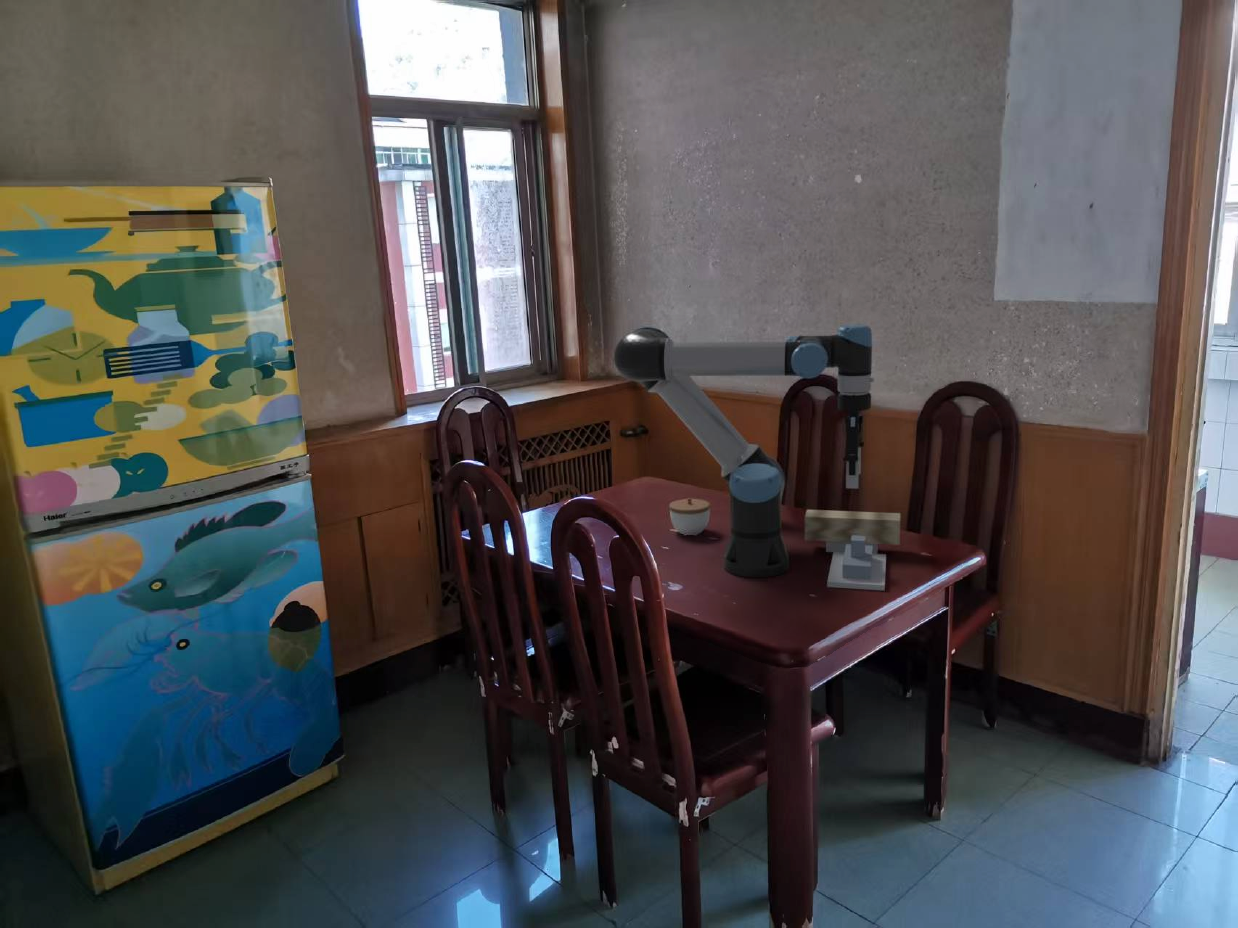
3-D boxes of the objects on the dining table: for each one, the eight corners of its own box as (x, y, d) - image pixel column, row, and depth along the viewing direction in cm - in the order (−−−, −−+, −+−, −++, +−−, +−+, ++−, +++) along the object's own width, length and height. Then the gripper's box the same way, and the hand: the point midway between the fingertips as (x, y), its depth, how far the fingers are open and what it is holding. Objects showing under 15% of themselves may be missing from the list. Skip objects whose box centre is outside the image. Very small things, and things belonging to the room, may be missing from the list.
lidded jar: (709, 538, 228) (708, 504, 225) (668, 538, 229) (667, 504, 227) (711, 526, 238) (710, 492, 236) (672, 526, 240) (671, 492, 237)
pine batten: (804, 540, 213) (804, 516, 212) (807, 532, 219) (807, 509, 218) (899, 544, 207) (900, 520, 206) (899, 537, 212) (900, 513, 211)
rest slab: (826, 551, 214) (826, 540, 213) (827, 546, 217) (827, 534, 217) (877, 554, 210) (877, 542, 209) (877, 549, 214) (878, 537, 213)
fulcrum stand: (827, 586, 192) (827, 551, 190) (833, 556, 210) (833, 523, 208) (884, 590, 188) (885, 554, 186) (885, 559, 207) (886, 525, 205)
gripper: (869, 401, 192) (868, 495, 197) (872, 384, 215) (871, 468, 220) (834, 401, 194) (833, 494, 199) (841, 384, 217) (840, 467, 222)
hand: (853, 480), depth 210 cm, fingers open, 13 cm apart
